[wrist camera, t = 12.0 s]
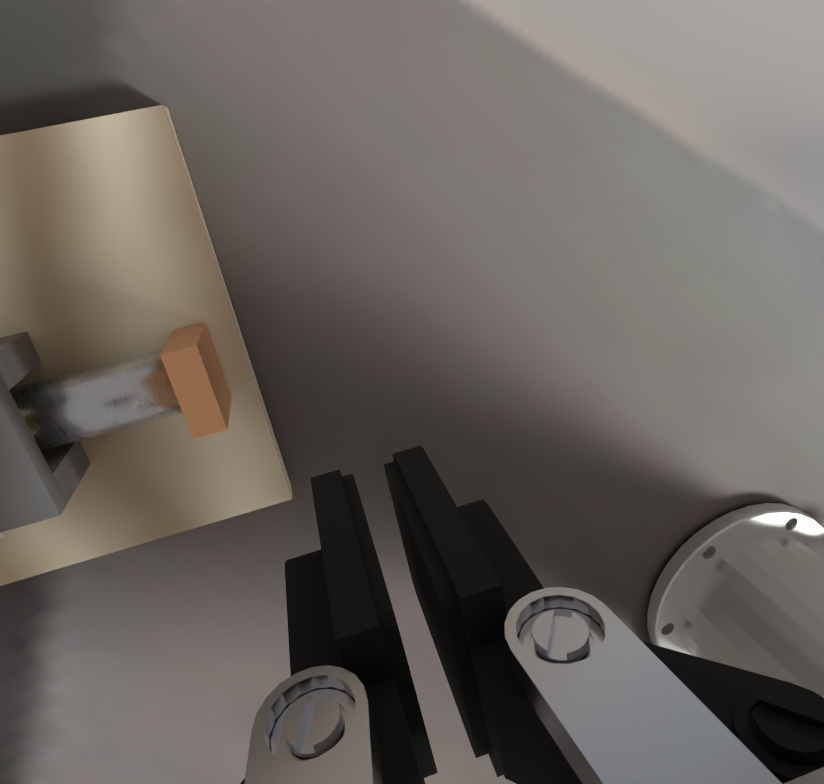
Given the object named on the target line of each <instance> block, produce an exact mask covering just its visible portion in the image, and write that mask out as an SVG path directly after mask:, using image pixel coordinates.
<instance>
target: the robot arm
mask: <svg viewBox="0 0 824 784" xmlns="http://www.w3.org/2000/svg"><path fill="white" fill-rule="evenodd" d="M393 459H394V462H391V463H387V464H384V467H385V472H386V476H387V480H388V484H389V488H390V492H391V496H392V500H393V504H394V508H395V512H396V516H397V520H398V525H399V529H400V533H401V537H402V541H403V545H404V549H405V553H406V557H407V561H408V565H409V569H410V573H411V577H412V581H413V584H414V588H415V591H416V594H417V597H418V600H419V602H420V605H421V608H422V611H423V614H424V616H425V619H426V622H427V625H428V627H429V630H430V633H431V636H432V638H433V641H434V644H435V647H436V649H437V652H438V655H439V658H440V661H441V663H442V666H443V669H444V672H445V674H446V677H447V680H448V683H449V685H450V688H451V691H452V694H453V696H454V699H455V702H456V705H457V707H458V710H459V713H460V716H461V719H462V721H463V724H464V727H465V730H466V732H467V735H468V738H469V741H470V743H471V746H472V749H473V752H474V754H475V756H476V758H478V757H480V756H483V755H485V754H489V756H490V759H491V761H492V764H493V767H494V769H495V772H496V774H497V777H499V776H501V775H504V776H505V778H506V779H508V780H510V781H513V782H515V783H517V784H824V527H823V526H822V525H821V524H820V523H818V522H817V521H816V520H815V519H814V518H812V517H811V516H809V515H807V514H806V513H804V512H802V511H801V510H799V509H797V508H795V507H792V506H788V505H785V504H779V503H763V504H756V505H750V506H747V507H744V508H741V509H738V510H735V511H732V512H729V513H727V514H725V515H723V516H721V517H720V518H718V519H716V520H714V521H712V522H711V523H709V524H708V525H706V526H705V527H703V528H702V529H701V530H699V531H698V532H696V533H695V534H694V535H693V536H692V537H691V538H690V539H689V540H688V541H687V542H685V543H684V544H683V545H682V546H681V547H680V548H679V550H678V551H677V552H676V553H675V554H674V556H673V557H672V558H671V559H670V560H669V562H668V563H667V565H666V566H665V568H664V570H663V571H662V573H661V575H660V576H659V578H658V580H657V582H656V585H655V587H654V590H653V592H652V594H651V598H650V603H649V607H648V611H647V628H648V632H649V636H650V640H651V642H652V644H650V643H646V642H642V641H641V640H640V639H639V638H638V637H637V636H636V635H635V634H634V633H633V632H632V631H631V630H630V629H629V628H628V627H627V626H626V625H625V624H624V623H623V622H622V621H621V620H620V619H619V618H618V617H617V616H616V615H615V614H614V613H613V612H612V611H611V610H610V609H609V608H608V607H607V606H606V605H605V604H604V603H602V602H601V601H600V600H598V599H597V598H596V597H594V596H593V595H590V594H588V593H585V592H583V591H580V590H578V589H571V588H565V587H554V588H543V586H542V585H541V583H540V582H539V580H538V579H537V577H536V576H535V574H534V573H533V571H532V570H531V568H530V567H529V565H528V564H527V562H526V561H525V559H524V558H523V556H522V555H521V553H520V552H519V550H518V549H517V548H516V546H515V545H514V543H513V542H512V540H511V539H510V537H509V536H508V534H507V533H506V531H505V530H504V528H503V527H502V525H501V524H500V522H499V521H498V519H497V518H496V516H495V515H494V513H493V512H492V510H491V509H490V507H489V506H488V504H487V503H486V502H485V501H484V500H478V501H475V502H472V503H469V504H466V505H462V506H459V507H456V505H455V503H454V501H453V500H452V498H451V496H450V494H449V493H448V491H447V489H446V487H445V486H444V484H443V482H442V480H441V479H440V477H439V475H438V474H437V472H436V470H435V468H434V467H433V465H432V463H431V461H430V460H429V458H428V456H427V454H426V453H425V451H424V449H423V448H422V446H418V447H415V448H411V449H408V450H404V451H401V452H398V453H394V454H393ZM311 485H312V491H313V498H314V504H315V511H316V517H317V523H318V530H319V536H320V543H321V550H318V551H315V552H312V553H309V554H305V555H302V556H299V557H296V558H293V559H289V560H286V562H285V579H286V597H287V615H288V633H289V651H290V669H291V677H289V678H288V679H286V680H285V681H283V682H282V683H280V684H279V685H278V686H277V687H276V688H275V689H274V690H273V691H272V692H271V693H270V694H269V695H268V696H267V697H266V699H265V701H264V702H263V704H262V706H261V707H260V709H259V710H258V712H257V714H256V718H255V721H254V724H253V728H252V732H251V739H250V746H249V753H248V761H247V768H246V775H245V778H244V780H243V781H242V782H241V784H425V781H424V778H425V777H428V776H430V775H433V774H436V773H437V769H436V765H435V762H434V758H433V754H432V751H431V747H430V743H429V739H428V736H427V732H426V728H425V725H424V721H423V717H422V714H421V710H420V706H419V703H418V699H417V695H416V691H415V688H414V684H413V680H412V677H411V673H410V669H409V666H408V662H407V658H406V655H405V651H404V647H403V643H402V640H401V636H400V632H399V629H398V625H397V622H396V618H395V615H394V611H393V608H392V604H391V601H390V598H389V594H388V591H387V587H386V584H385V581H384V577H383V574H382V571H381V567H380V564H379V560H378V557H377V554H376V550H375V547H374V544H373V540H372V537H371V533H370V530H369V527H368V523H367V520H366V516H365V513H364V510H363V506H362V503H361V500H360V496H359V493H358V489H357V486H356V483H355V479H354V476H353V474H350V475H347V476H343V477H342V476H341V473H340V470H336V471H333V472H329V473H326V474H322V475H319V476H316V477H312V478H311Z"/></svg>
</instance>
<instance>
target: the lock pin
mask: <svg viewBox="0 0 824 784" xmlns="http://www.w3.org/2000/svg"><path fill="white" fill-rule="evenodd" d="M9 391H10V393H11V395H12V397H13V399H14V400H15V402H16V404H17V406H18V408H19V410H20V412H21V414H22V416H23V418H24V420H25V422H26V424H27V426H28V427H29V429H30V431H31V433H32V435H33V437H34V439H35V441H36V443H37V445H38V447H39V449H40V451H42V450H46V449H50V448H53V447H57V446H61V445H65V444H68V443H72V442H76V441H79V440H83V439H87V438H91V437H94V436H98V435H102V434H106V433H109V432H113V431H117V430H121V429H124V428H128V427H132V426H136V425H139V424H143V423H147V422H150V421H154V420H158V419H162V418H165V417H169V416H173V415H177V414H180V413H183V415H184V417H185V420H186V423H187V425H188V428H189V430H190V433H191V435H192V438H193V439H196V438H199V437H203V436H207V435H210V434H214V433H217V432H221V431H225V430H227V429H228V421H229V414H230V406H231V399H232V397H231V394H230V391H229V388H228V385H227V382H226V379H225V377H224V374H223V371H222V368H221V365H220V362H219V360H218V357H217V354H216V351H215V348H214V345H213V342H212V340H211V337H210V334H209V331H208V328H207V325H206V322H204V323H200V324H196V325H192V326H188V327H184V328H180V329H176V330H173V332H172V334H171V336H170V337H169V339H168V341H167V343H166V345H165V346H164V348H163V350H162V351H158V352H154V353H150V354H146V355H142V356H138V357H134V358H130V359H126V360H122V361H118V362H114V363H110V364H106V365H102V366H98V367H94V368H91V369H87V370H83V371H79V372H75V373H71V374H67V375H63V376H59V377H55V378H51V379H47V380H43V381H39V382H35V383H31V384H27V385H23V386H19V387H15V388H11V389H10V390H9Z"/></svg>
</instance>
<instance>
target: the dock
mask: <svg viewBox="0 0 824 784" xmlns="http://www.w3.org/2000/svg"><path fill="white" fill-rule="evenodd" d="M204 322H206V325H207V328H208V331H209V334H210V337H211V340H212V342H213V345H214V348H215V351H216V354H217V357H218V360H219V362H220V365H221V368H222V371H223V374H224V377H225V379H226V382H227V385H228V388H229V391H230V394H231V397H232V399H231V406H230V414H229V421H228V429H227V430H225V431H221V432H217V433H214V434H210V435H207V436H203V437H199V438H196V439H193V438H192V435H191V433H190V430H189V428H188V425H187V423H186V420H185V417H184V415H183V413H180V414H177V415H173V416H169V417H165V418H162V419H158V420H154V421H150V422H147V423H143V424H139V425H136V426H132V427H128V428H124V429H121V430H117V431H113V432H109V433H106V434H102V435H98V436H94V437H91V438H87V439H83V440H79V441H76V442H72V443H68V444H65V445H61V446H57V447H53V448H50V449H46V450H42V451H40V449H39V447H38V445H37V443H36V441H35V439H34V437H33V435H32V433H31V431H30V429H29V427H28V426H27V424H26V422H25V420H24V418H23V416H22V414H21V412H20V410H19V408H18V406H17V404H16V402H15V400H14V399H13V397H12V395H11V393H10V391H9V390H10V389H11V388H15V387H19V386H23V385H27V384H31V383H35V382H39V381H43V380H47V379H51V378H55V377H59V376H63V375H67V374H71V373H75V372H79V371H83V370H87V369H91V368H94V367H98V366H102V365H106V364H110V363H114V362H118V361H122V360H126V359H130V358H134V357H138V356H142V355H146V354H150V353H154V352H158V351H162V350H163V348H164V346H165V345H166V343H167V341H168V339H169V337H170V336H171V334H172V332H173V330H176V329H180V328H184V327H188V326H192V325H196V324H200V323H204ZM288 500H292V489H291V484H290V480H289V477H288V474H287V471H286V468H285V465H284V462H283V459H282V456H281V453H280V450H279V447H278V444H277V441H276V438H275V435H274V432H273V429H272V425H271V422H270V419H269V416H268V413H267V410H266V407H265V404H264V401H263V398H262V395H261V392H260V389H259V386H258V383H257V380H256V377H255V373H254V370H253V367H252V364H251V361H250V358H249V355H248V352H247V349H246V346H245V343H244V340H243V337H242V334H241V331H240V328H239V325H238V322H237V318H236V315H235V312H234V309H233V306H232V303H231V300H230V297H229V294H228V291H227V288H226V285H225V282H224V279H223V276H222V273H221V270H220V267H219V263H218V260H217V257H216V254H215V251H214V248H213V245H212V242H211V239H210V236H209V233H208V230H207V227H206V224H205V221H204V218H203V215H202V211H201V208H200V205H199V202H198V199H197V196H196V193H195V190H194V187H193V184H192V181H191V178H190V175H189V172H188V169H187V166H186V163H185V160H184V156H183V153H182V150H181V147H180V144H179V141H178V138H177V135H176V132H175V129H174V126H173V123H172V120H171V117H170V114H169V111H168V108H167V107H165V106H164V105H158V106H153V107H148V108H143V109H137V110H132V111H127V112H122V113H116V114H111V115H106V116H101V117H95V118H90V119H85V120H80V121H74V122H69V123H64V124H59V125H53V126H48V127H43V128H38V129H32V130H27V131H22V132H17V133H11V134H6V135H1V136H0V586H2V585H5V584H9V583H12V582H15V581H19V580H22V579H26V578H29V577H32V576H36V575H39V574H42V573H46V572H49V571H52V570H56V569H59V568H63V567H66V566H69V565H73V564H76V563H79V562H83V561H86V560H90V559H93V558H96V557H100V556H103V555H106V554H110V553H113V552H116V551H120V550H123V549H127V548H130V547H133V546H137V545H140V544H143V543H147V542H150V541H154V540H157V539H160V538H164V537H167V536H170V535H174V534H177V533H180V532H184V531H187V530H191V529H194V528H197V527H201V526H204V525H207V524H211V523H214V522H217V521H221V520H224V519H228V518H231V517H234V516H238V515H241V514H244V513H248V512H251V511H255V510H258V509H261V508H265V507H268V506H271V505H275V504H278V503H281V502H285V501H288Z"/></svg>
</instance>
